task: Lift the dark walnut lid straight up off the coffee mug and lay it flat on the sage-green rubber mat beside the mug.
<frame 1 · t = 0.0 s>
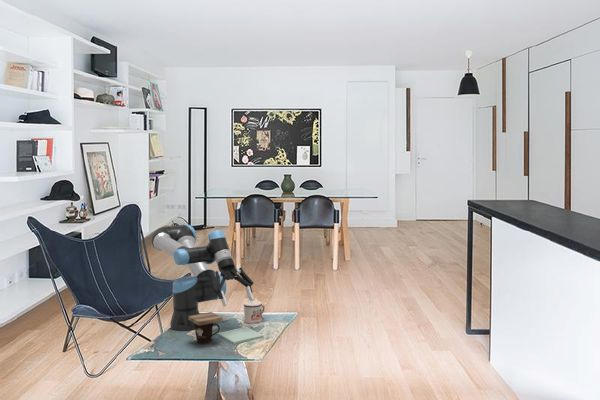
hand: (238, 302, 265), 15 cm above the table, tool tilted 35°, fingers open, 13 cm apart
teacup with lid: (255, 320, 290), on the table
walnut lid: (205, 320, 257), point 10 cm above the table, touching coffee mug
sage mat: (240, 336, 266), on the table
coffee mug: (206, 342, 258), on the table, touching walnut lid
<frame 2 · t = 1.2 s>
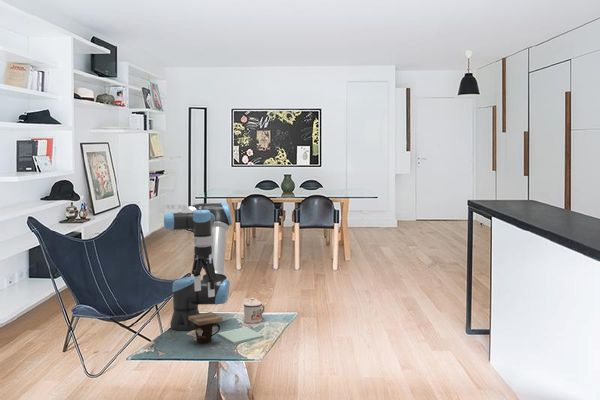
hand: (204, 293, 256), 22 cm above the table, tool pointing down, fingers open, 13 cm apart
nothing on the table moved.
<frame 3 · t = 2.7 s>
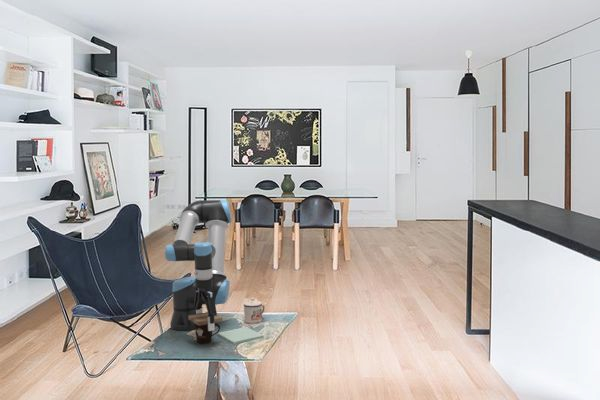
hand: (205, 327, 258), 7 cm above the table, tool pointing down, fingers closed on walnut lid, 11 cm apart
walnut lid: (205, 320, 258), point 10 cm above the table, touching coffee mug, gripper
coffee mug: (206, 342, 258), on the table, touching gripper, walnut lid
everything else where it was.
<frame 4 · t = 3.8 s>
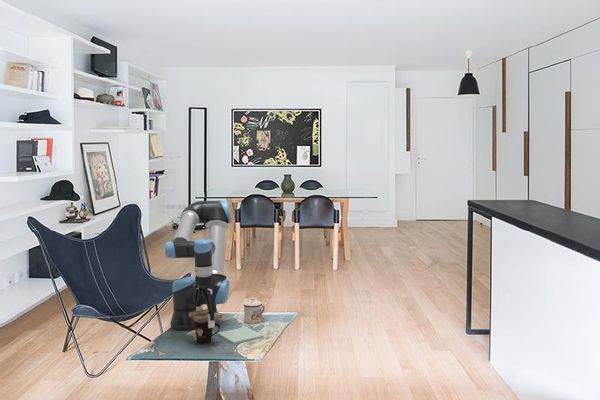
hand: (205, 324, 258), 8 cm above the table, tool pointing down, fingers closed on walnut lid, 11 cm apart
walnut lid: (205, 317, 258), point 11 cm above the table, touching gripper
coffee mug: (206, 342, 258), on the table, touching gripper
everything else where it was.
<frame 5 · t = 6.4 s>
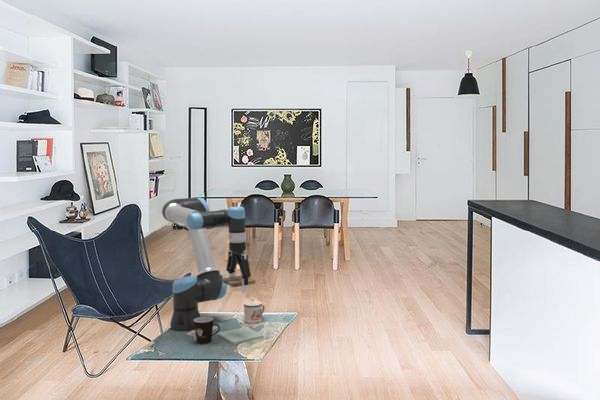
hand: (238, 289, 264), 22 cm above the table, tool pointing down, fingers closed on walnut lid, 11 cm apart
walnut lid: (238, 282, 264), point 25 cm above the table, touching gripper
coffee mug: (206, 342, 258), on the table
everything else where it was.
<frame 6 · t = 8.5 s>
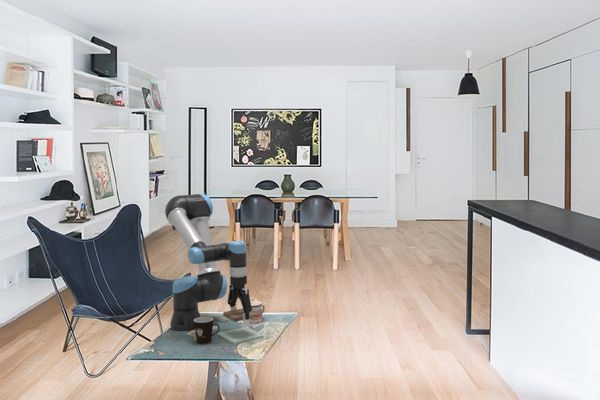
hand: (240, 323, 265), 6 cm above the table, tool pointing down, fingers closed on walnut lid, 11 cm apart
walnut lid: (239, 316, 265), point 9 cm above the table, touching gripper
everything else where it was.
when the fingers open (4 cm above the table, at t = 10.1 s): walnut lid drops 6 cm, resting on sage mat.
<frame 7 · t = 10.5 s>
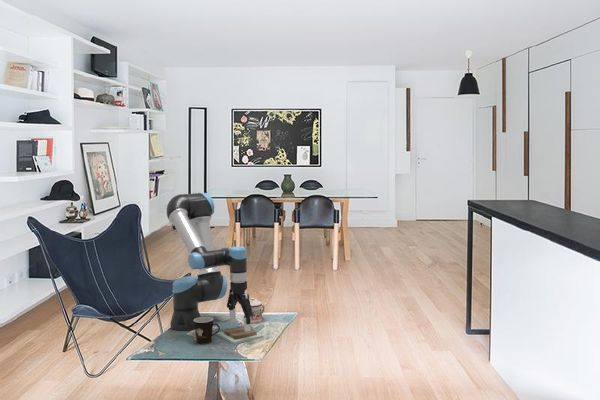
hand: (240, 327, 265), 4 cm above the table, tool pointing down, fingers open, 13 cm apart
walnut lid: (240, 334, 266), point 1 cm above the table, touching sage mat
everything else where it was.
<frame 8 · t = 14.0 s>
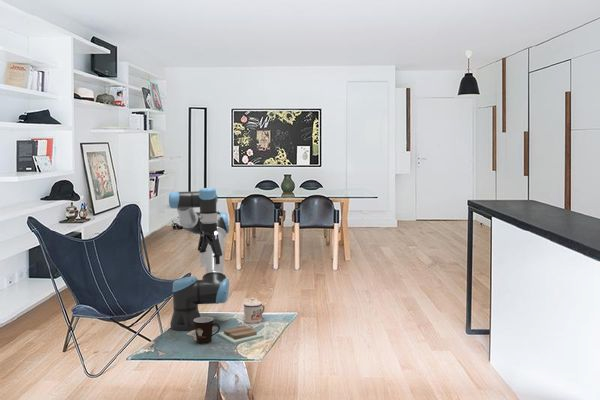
hand: (210, 268, 266), 31 cm above the table, tool pointing down, fingers open, 13 cm apart
nothing on the table moved.
at the end: walnut lid inside the target area on the sage mat (0.0 cm from its centre), point 1.0 cm above the sage mat's base; coffee mug tilted 0°; walnut lid touching sage mat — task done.
